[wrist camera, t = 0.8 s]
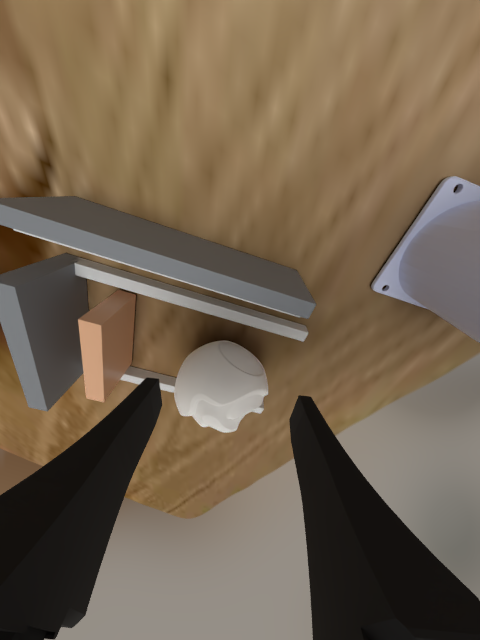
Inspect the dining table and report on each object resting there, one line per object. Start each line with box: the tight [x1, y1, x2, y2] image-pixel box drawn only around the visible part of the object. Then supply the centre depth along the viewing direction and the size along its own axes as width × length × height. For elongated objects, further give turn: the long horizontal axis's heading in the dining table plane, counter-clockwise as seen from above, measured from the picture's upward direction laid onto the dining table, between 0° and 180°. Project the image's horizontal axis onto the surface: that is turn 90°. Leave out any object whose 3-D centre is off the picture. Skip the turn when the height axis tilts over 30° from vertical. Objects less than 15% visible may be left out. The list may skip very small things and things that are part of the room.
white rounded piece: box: [174, 340, 268, 433], centre depth 19 cm, size 8×8×8 cm
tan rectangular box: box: [78, 290, 136, 402], centre depth 18 cm, size 2×8×5 cm, turn 163°
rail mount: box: [0, 196, 316, 414], centre depth 18 cm, size 21×16×6 cm
